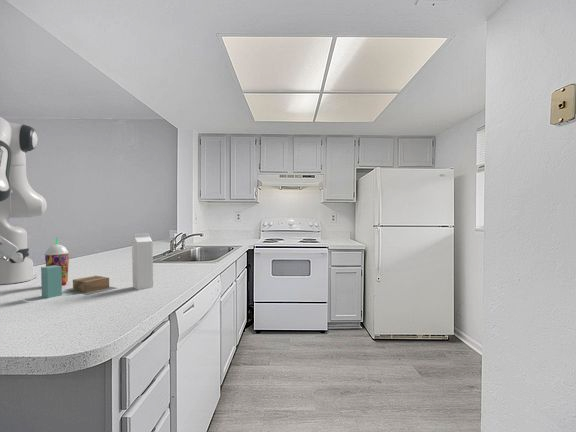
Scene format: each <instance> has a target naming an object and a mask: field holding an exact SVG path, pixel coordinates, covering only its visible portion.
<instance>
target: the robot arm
mask: <svg viewBox="0 0 576 432" xmlns="http://www.w3.org/2000/svg"><path fill="white" fill-rule="evenodd" d="M38 140H39V138H38V135H37V132H36V129H34V128H33V126H30V125H26V124H19V123H15V122H11V121H7V120H6V119H5V118H3V117H2V116H0V285H8V284H15V283H16V284H18V283H22V282H28V281H32V280H33V279H36V278H38V275H37V274H35V272H34V271H35V270H34V262H33V260H32V259H31V258H30V257H29V256H30V250H29V249H30V248H29V247H28V232H27V230H26V229H25V228H23V227H21V226H19V225H16V224H13V223H11V222H10V221H9V219H12V218H14V219H15V218H33V217H34V218H35V217H40V216H42V215H44V214H45V212H46V211H47V209H48V204H47V200H46V198H45V197H44V196H42V194H40V193H39V192H37V191H35V190H34V189H33V188H32V186H31V184H30V182H29V180H28V177H27V176H28V175H27V158H26V157H27V156H26V155H27V154H26V153H28V152H31V151H33V150H35V149H36V146H37V145H38V142H39V141H38ZM11 191H12V192H11Z"/></svg>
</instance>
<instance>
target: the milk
mask: <svg viewBox="0 0 576 432" xmlns="http://www.w3.org/2000/svg"><path fill="white" fill-rule="evenodd" d="M133 235H134V237H133V239H132V240H131V252H132V253H131V260H132V263H131V265H132V267H131V268H132V288H134V289H136V290H143V289H150V288H154V264H153V263H154V260H153V259H154V257H153V256H154V254H153V250H154V249H153V244H154V243H153V242H154V241H153V240H152V238H151V233H150V232H140V233H139V232H138V233H137V232H136V233H134V234H133Z"/></svg>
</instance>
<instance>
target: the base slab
mask: <svg viewBox="0 0 576 432" xmlns="http://www.w3.org/2000/svg"><path fill="white" fill-rule="evenodd" d="M109 286H110V277H106V276H100V275H92V276H87V277H81V278H76V279H75V278H74V279H72V288H73V290H75V291H80V292H84V293H88V292H92V291H97V290H102V289H106V288H109Z"/></svg>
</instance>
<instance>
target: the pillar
mask: <svg viewBox="0 0 576 432" xmlns="http://www.w3.org/2000/svg"><path fill="white" fill-rule="evenodd" d="M40 270H41V271H40V275H41V277H40V278H41V282H40V283H41V297H42V298H45V299H52V298H55V297H60V296H62V295H63V286H62V274H61V266H56V265H54V266H46V265H45V266H41V267H40Z"/></svg>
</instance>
